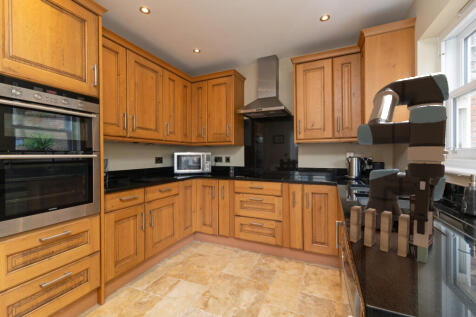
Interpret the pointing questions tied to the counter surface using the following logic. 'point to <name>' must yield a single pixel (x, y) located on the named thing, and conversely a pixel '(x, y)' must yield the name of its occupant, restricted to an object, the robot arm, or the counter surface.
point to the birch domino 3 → (386, 231)
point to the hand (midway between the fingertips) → (423, 238)
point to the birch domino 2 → (370, 227)
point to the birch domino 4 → (403, 235)
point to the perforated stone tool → (378, 219)
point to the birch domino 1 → (355, 224)
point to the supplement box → (411, 221)
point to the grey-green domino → (422, 253)
